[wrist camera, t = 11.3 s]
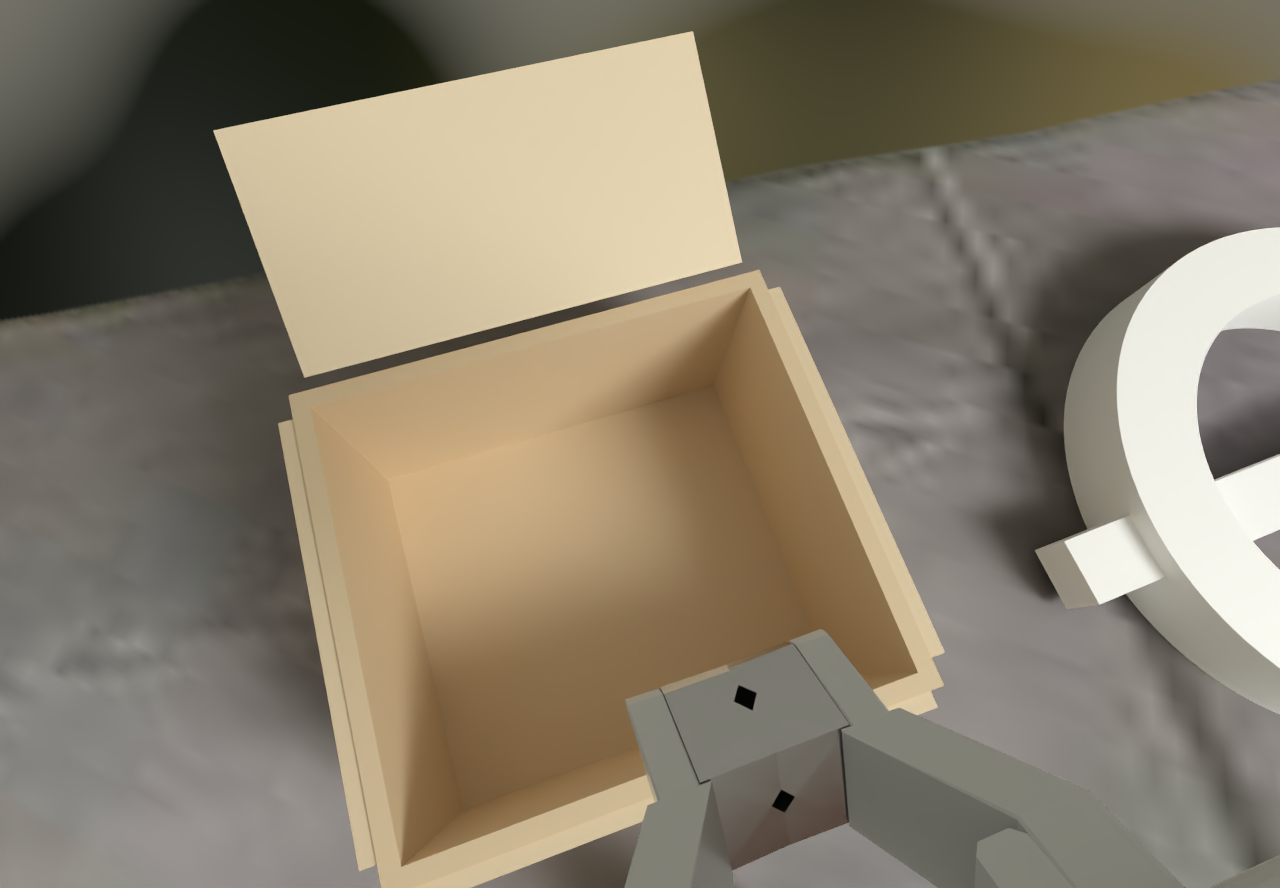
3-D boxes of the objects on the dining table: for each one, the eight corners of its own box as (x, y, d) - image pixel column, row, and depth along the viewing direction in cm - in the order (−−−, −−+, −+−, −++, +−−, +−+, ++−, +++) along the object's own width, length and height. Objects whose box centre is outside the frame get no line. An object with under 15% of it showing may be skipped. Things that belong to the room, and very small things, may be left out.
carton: (858, 692, 35) (966, 696, 25) (444, 847, 32) (368, 927, 21) (728, 373, 40) (771, 266, 30) (364, 478, 37) (272, 399, 27)
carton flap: (741, 262, 29) (692, 31, 27) (304, 377, 26) (213, 130, 24) (737, 263, 30) (688, 37, 28) (308, 376, 27) (219, 134, 25)
